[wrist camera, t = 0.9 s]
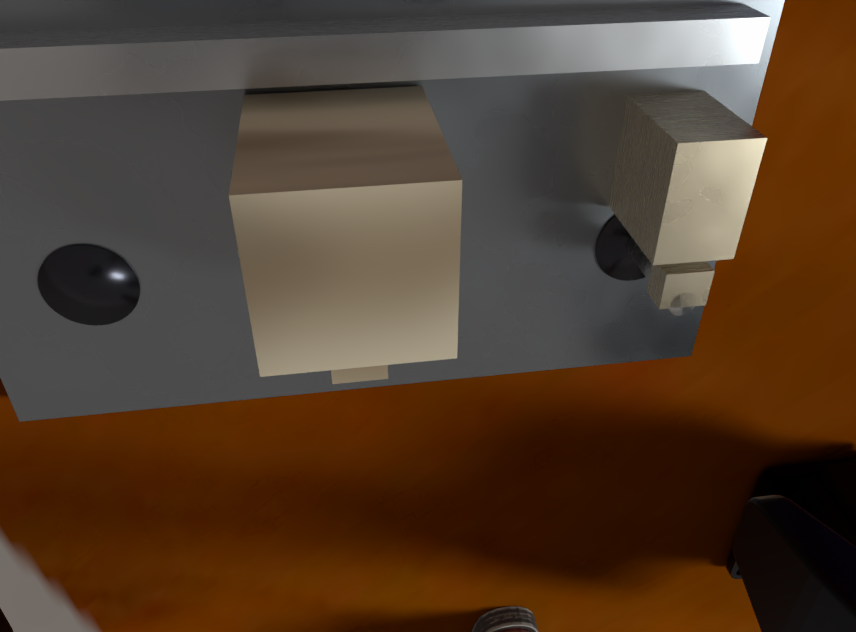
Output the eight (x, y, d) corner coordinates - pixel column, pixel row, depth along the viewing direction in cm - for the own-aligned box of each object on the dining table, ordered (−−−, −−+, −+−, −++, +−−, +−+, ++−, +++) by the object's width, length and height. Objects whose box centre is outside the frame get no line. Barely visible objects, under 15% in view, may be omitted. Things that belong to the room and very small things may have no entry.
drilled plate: (677, 336, 24) (736, 421, 21) (29, 397, 22) (-16, 504, 19) (805, -182, 16) (933, -172, 13) (-210, -174, 14) (-366, -161, 10)
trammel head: (423, 272, 20) (456, 396, 16) (271, 284, 19) (266, 415, 15) (421, 85, 17) (462, 179, 13) (243, 94, 17) (228, 195, 13)
